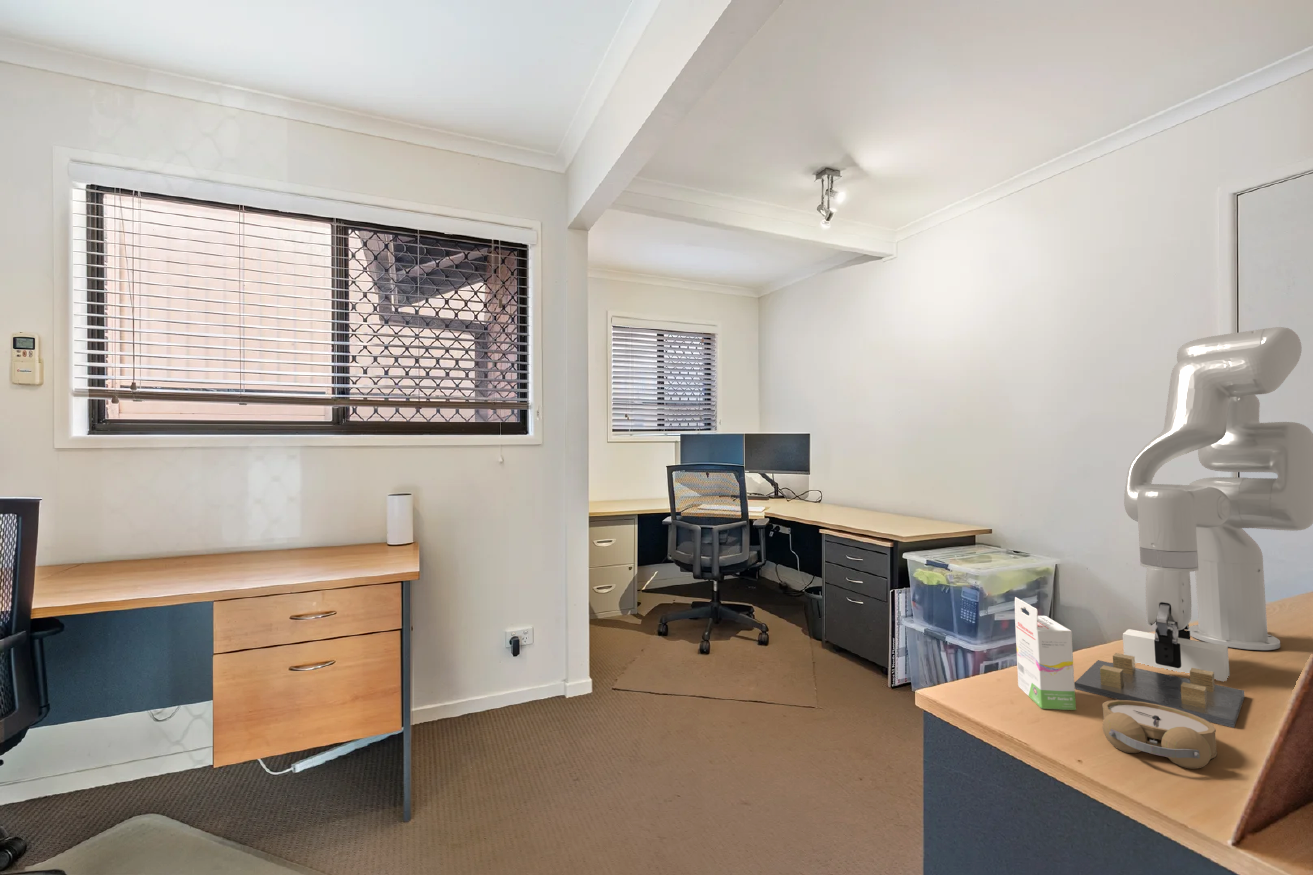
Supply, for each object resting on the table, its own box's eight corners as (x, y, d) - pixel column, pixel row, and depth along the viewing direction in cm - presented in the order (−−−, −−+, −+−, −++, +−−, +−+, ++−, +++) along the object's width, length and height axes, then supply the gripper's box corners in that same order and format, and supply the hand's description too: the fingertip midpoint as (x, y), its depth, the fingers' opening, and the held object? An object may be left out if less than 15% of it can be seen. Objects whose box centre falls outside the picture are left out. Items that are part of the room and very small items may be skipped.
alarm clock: (1215, 716, 75) (1215, 738, 65) (1217, 755, 75) (1218, 784, 64) (1107, 693, 83) (1092, 709, 73) (1108, 729, 82) (1093, 751, 72)
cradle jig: (1098, 665, 100) (1097, 645, 100) (1244, 697, 86) (1243, 673, 86) (1074, 688, 91) (1073, 666, 91) (1234, 727, 77) (1232, 701, 78)
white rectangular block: (1130, 656, 105) (1128, 629, 105) (1229, 676, 95) (1227, 646, 95) (1124, 661, 102) (1122, 633, 102) (1225, 683, 92) (1223, 651, 92)
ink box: (1078, 711, 84) (1073, 610, 84) (1041, 709, 84) (1035, 609, 85) (1050, 687, 92) (1045, 595, 92) (1016, 686, 93) (1012, 595, 93)
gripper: (1150, 550, 107) (1155, 642, 107) (1129, 563, 96) (1134, 665, 96) (1205, 555, 102) (1210, 652, 101) (1189, 569, 91) (1195, 678, 90)
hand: (1173, 658), depth 98 cm, fingers open, 9 cm apart
